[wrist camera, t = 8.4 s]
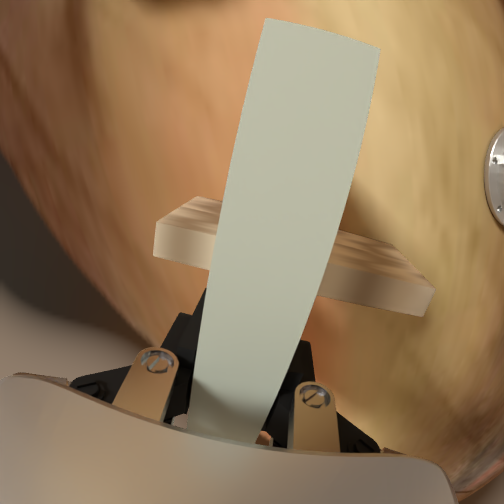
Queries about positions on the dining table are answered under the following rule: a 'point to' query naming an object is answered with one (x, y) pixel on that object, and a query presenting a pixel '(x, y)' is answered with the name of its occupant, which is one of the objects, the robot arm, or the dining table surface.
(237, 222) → the sage plate
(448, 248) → the dining table surface
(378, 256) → the maple board
